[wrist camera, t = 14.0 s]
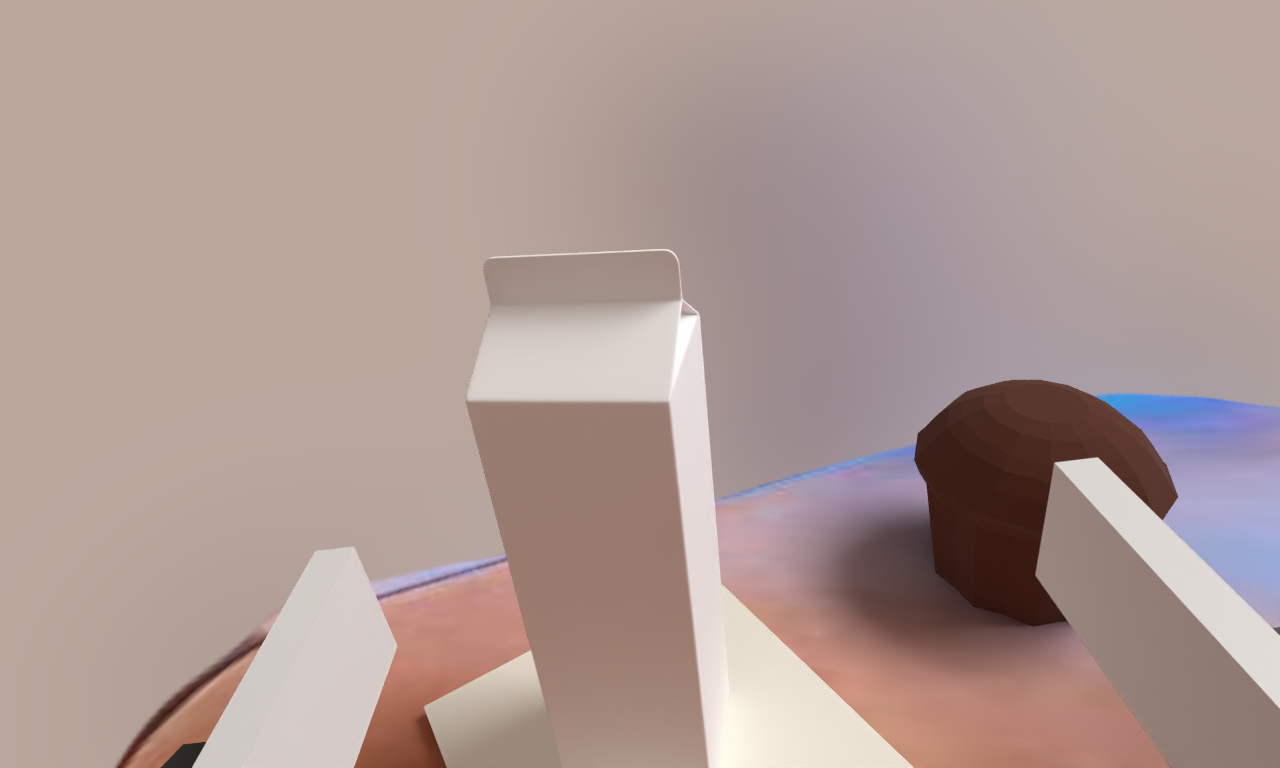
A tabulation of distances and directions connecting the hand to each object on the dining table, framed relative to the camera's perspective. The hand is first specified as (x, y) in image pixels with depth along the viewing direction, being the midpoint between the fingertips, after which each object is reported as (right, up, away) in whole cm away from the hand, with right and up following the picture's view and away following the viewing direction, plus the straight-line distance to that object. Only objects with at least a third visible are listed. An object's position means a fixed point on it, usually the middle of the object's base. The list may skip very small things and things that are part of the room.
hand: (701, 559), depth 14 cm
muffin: (+19, -6, +25) cm, 32 cm away
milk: (-1, -12, +17) cm, 21 cm away
